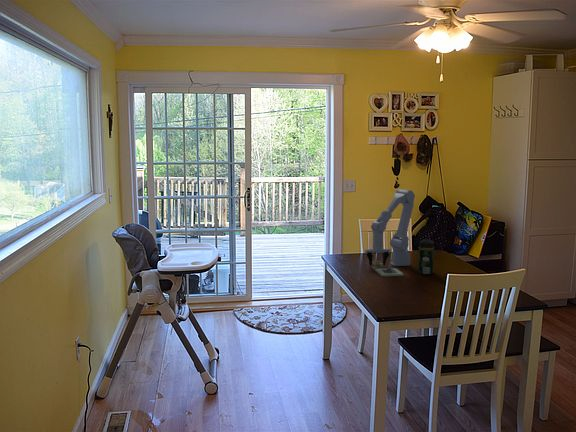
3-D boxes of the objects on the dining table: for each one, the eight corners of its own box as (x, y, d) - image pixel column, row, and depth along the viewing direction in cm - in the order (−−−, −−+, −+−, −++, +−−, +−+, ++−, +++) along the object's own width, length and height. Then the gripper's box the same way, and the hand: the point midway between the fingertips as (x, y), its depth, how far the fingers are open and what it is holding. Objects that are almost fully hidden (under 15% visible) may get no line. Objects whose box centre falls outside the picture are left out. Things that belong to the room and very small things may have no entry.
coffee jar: (418, 270, 288) (420, 237, 286) (433, 271, 286) (435, 238, 283) (416, 274, 279) (418, 241, 277) (432, 275, 277) (433, 242, 274)
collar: (380, 266, 296) (380, 261, 295) (382, 268, 291) (383, 263, 290) (371, 266, 295) (371, 261, 295) (374, 269, 290) (374, 264, 290)
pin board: (395, 270, 288) (396, 261, 288) (403, 275, 277) (404, 266, 276) (375, 270, 287) (375, 262, 286) (382, 276, 275) (382, 267, 274)
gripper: (367, 243, 286) (367, 267, 288) (392, 243, 288) (391, 266, 290) (364, 241, 293) (363, 264, 295) (388, 240, 295) (387, 263, 297)
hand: (377, 265), depth 293 cm, fingers open, 7 cm apart
